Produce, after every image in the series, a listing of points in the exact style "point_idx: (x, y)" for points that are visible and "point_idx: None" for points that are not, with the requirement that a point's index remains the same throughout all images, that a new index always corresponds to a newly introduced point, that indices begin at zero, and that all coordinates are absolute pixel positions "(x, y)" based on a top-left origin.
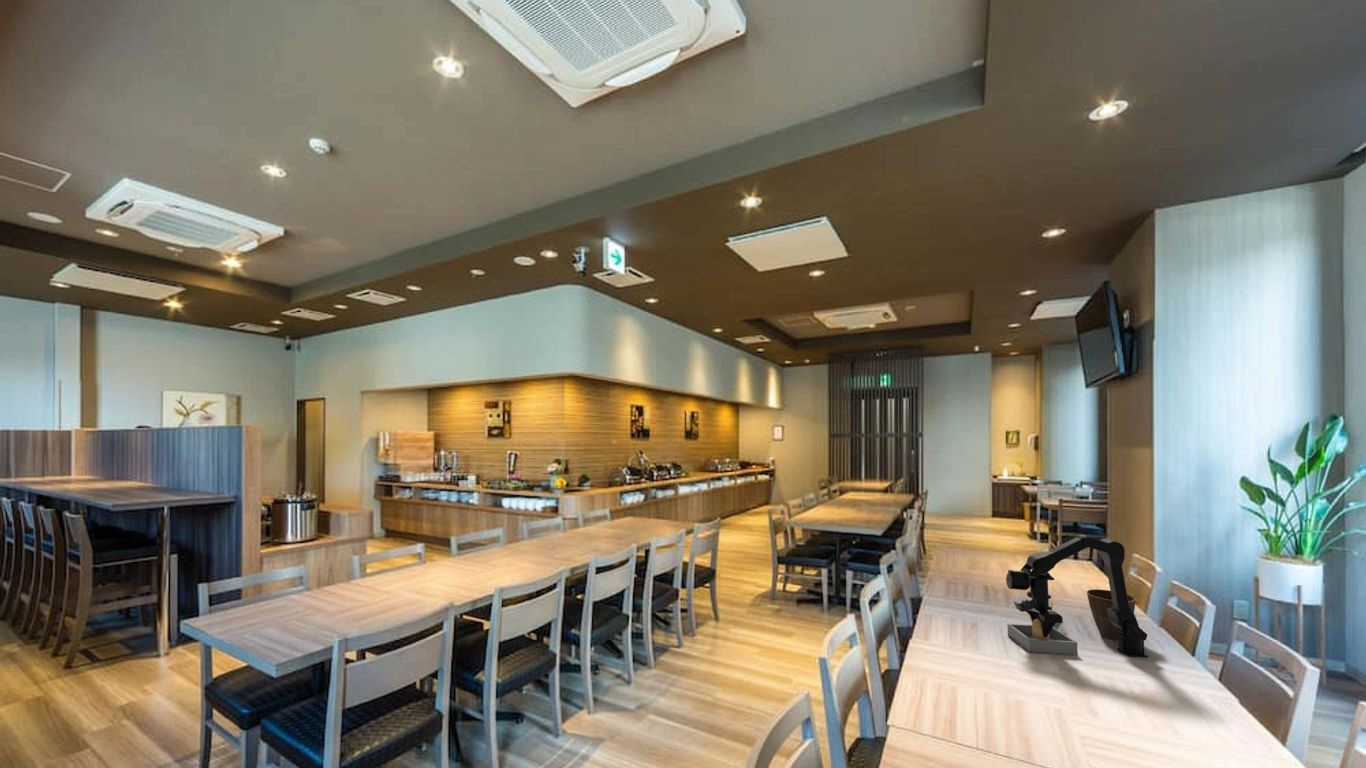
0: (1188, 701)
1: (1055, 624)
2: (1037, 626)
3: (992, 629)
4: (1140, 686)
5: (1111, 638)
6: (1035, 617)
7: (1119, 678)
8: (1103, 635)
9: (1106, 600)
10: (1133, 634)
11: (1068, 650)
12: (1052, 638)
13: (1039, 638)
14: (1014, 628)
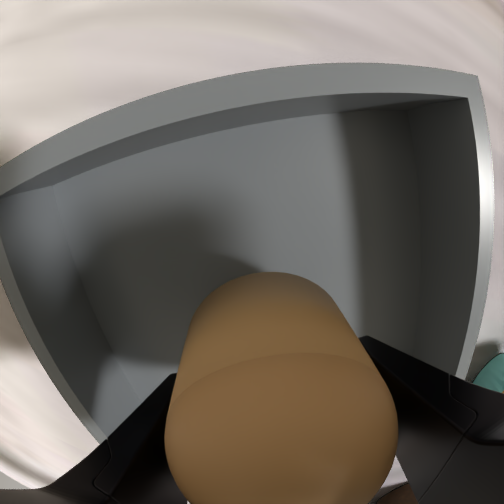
0: (13, 465)
1: None
2: (174, 416)
3: (478, 54)
4: (11, 443)
5: (384, 499)
6: (439, 464)
7: (21, 433)
8: (404, 490)
9: None
10: None
11: None
12: None
13: (191, 324)
14: (343, 73)
